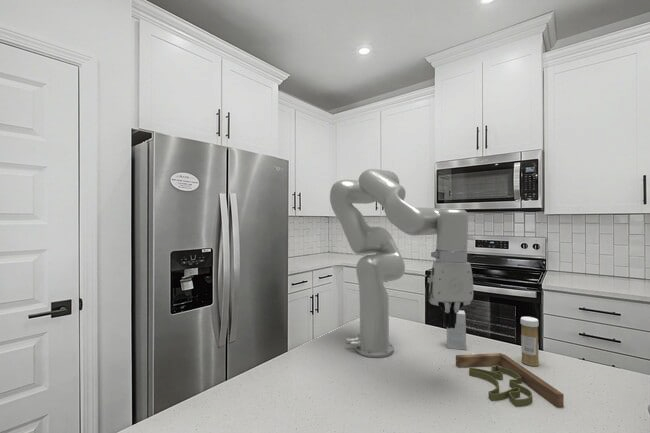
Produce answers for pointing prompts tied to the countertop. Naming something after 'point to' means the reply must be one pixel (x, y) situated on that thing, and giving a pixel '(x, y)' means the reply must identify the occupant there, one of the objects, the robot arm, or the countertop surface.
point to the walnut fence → (506, 362)
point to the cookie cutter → (514, 384)
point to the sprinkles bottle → (529, 341)
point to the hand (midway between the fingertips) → (449, 326)
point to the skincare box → (457, 333)
